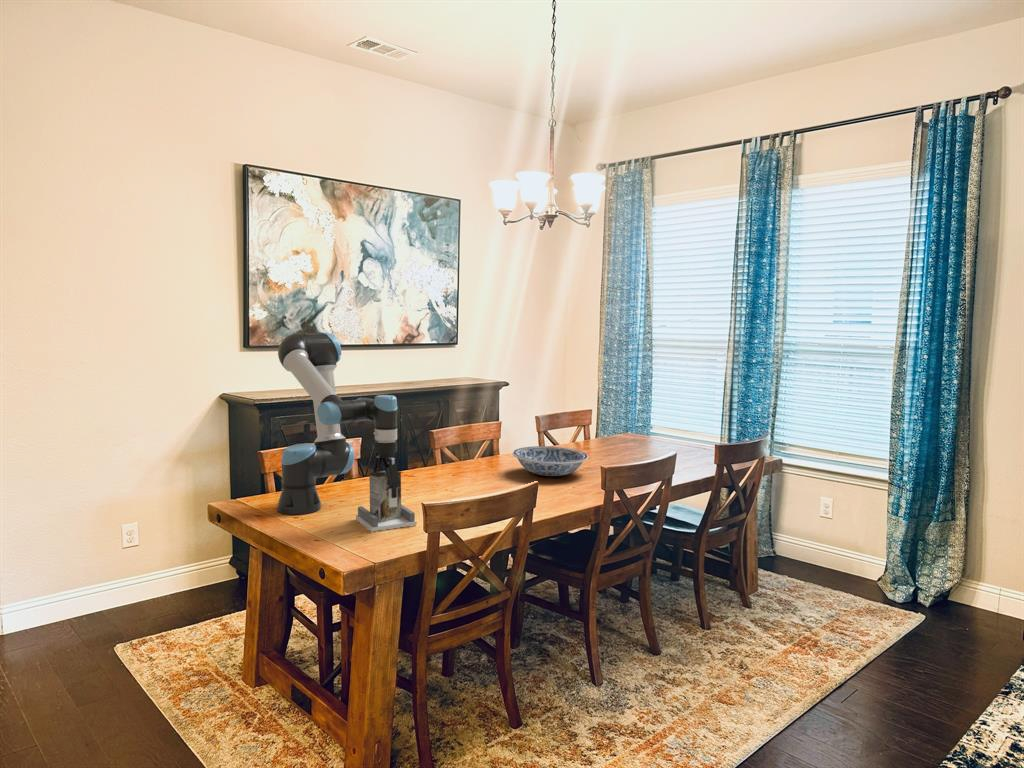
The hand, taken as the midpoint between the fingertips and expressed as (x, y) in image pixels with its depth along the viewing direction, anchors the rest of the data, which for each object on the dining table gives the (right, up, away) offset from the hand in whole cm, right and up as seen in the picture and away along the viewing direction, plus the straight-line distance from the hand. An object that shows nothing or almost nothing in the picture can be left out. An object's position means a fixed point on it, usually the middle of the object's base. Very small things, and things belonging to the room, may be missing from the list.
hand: (385, 502), depth 242 cm
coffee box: (0, -6, +1) cm, 6 cm away
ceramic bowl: (+60, -1, +79) cm, 99 cm away
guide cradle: (0, -7, +1) cm, 7 cm away
